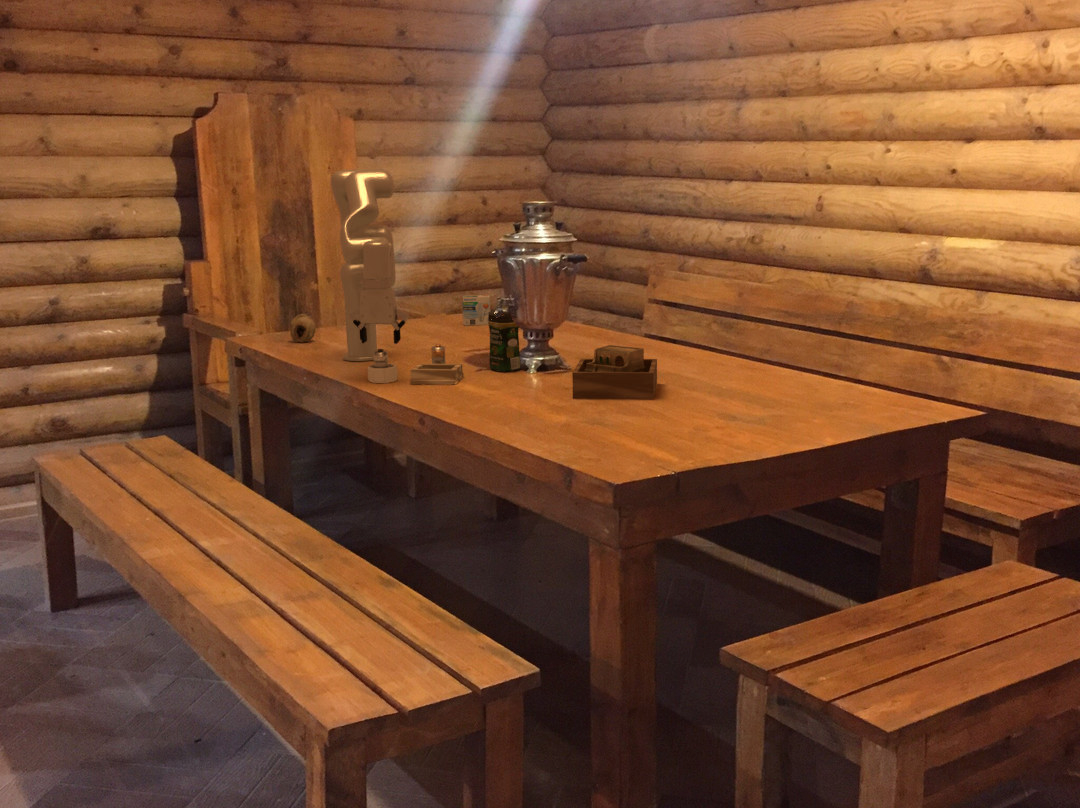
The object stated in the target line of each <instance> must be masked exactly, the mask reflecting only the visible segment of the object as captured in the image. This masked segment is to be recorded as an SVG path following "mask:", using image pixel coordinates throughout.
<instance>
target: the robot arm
mask: <svg viewBox="0 0 1080 808" xmlns="http://www.w3.org/2000/svg"><path fill="white" fill-rule="evenodd" d="M394 185H395V184H394V179H393V176H392V174H391V173H390V172H389V170H386V169H383V168H382V169H381V168H367V169H364V168H362V169H354V168H353V169H341V170H337V171H335V172H333V173H332V175H331V177H330V186H331V187H330V188H331V191H332V196H333V198H334V201H335V202H336V205H337V207H338V211H339V214H340V230H339V242H340V248H341V253H342V257H343V260H344V261H345V262H344V263H343V264H341V267H340V269H339V276H340V277H339V278H340V281H341V282H340V283H341V285H342V291H343V299H344V300H343V301H344V302H343V303H344V312H345V313H344V314H345V315H344V316H345V330H346V331H345V333H346V345H347V346H346V347H347V348H346V349H347V353H345V354H343V356H342V359H343V360H345V361H349V362H368V361H369V362H370V361H374V351H378V341H377V340H378V339H377V338H378V337H377V325H391V326H392V327H393V328H394V330H393V344H394V345H397V344H399V343H400V341H401V339H402V338H401V337H402V336H401V329H402V328H403V327H404V325H405V324H407V321H408V319H409V318H410V316H409V313H407V312H405V311H403V310H401V309H399V308H398V306H397V300H396V299H397V298H396V294H395V290H394V288H393V287H394V286H395V283H396V265H395V264H396V263H395V249H394V239H393V234H392V231H391V229H390V227H388V226H387V225H384V224H373V223H374V222H375V221H376V220H377V219H378V217H379V216H380V209H379V203H378V199H390V198H392V196H393V195H394V191H395V186H394ZM398 316H400V317H401V318H402V319H401V321H400V322H399V321H398Z"/></svg>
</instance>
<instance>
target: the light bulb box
mask: <svg viewBox="0 0 1080 808" xmlns="http://www.w3.org/2000/svg"><path fill="white" fill-rule="evenodd" d="M490 311H491V296H490V294H479V295H478V294H475V295H472V294H471V295H462V325H463V326H464V325H465V326H489V324H488V314H489V312H490Z"/></svg>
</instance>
